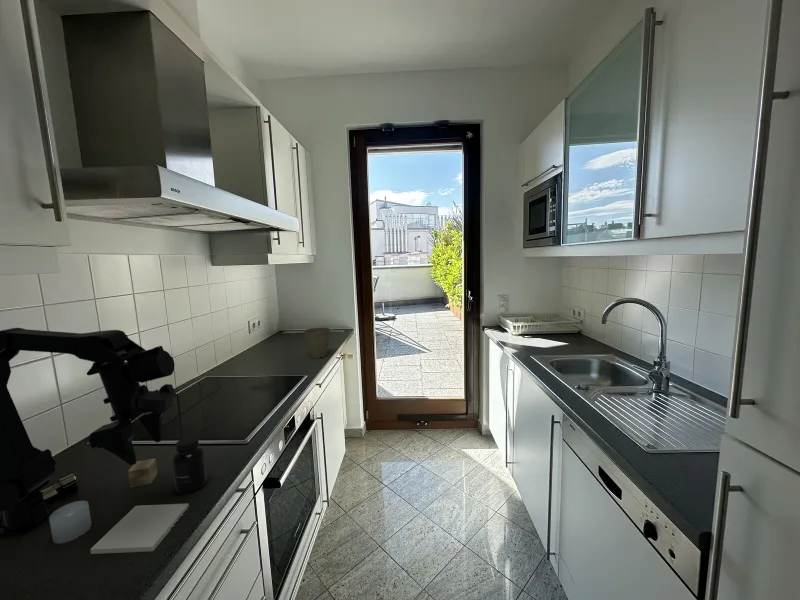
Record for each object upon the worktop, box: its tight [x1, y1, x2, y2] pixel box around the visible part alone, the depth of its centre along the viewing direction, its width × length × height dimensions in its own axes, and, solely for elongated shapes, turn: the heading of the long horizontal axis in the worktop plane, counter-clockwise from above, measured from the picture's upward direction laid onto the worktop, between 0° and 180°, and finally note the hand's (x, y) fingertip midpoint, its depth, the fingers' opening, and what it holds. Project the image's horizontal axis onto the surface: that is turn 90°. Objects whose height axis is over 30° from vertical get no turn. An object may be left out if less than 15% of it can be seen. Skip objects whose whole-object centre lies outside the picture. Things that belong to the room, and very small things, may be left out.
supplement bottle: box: [172, 436, 207, 495], centre depth 87 cm, size 7×7×12 cm
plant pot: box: [303, 327, 331, 359], centre depth 200 cm, size 15×15×16 cm
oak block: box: [127, 458, 158, 488], centre depth 90 cm, size 4×4×4 cm
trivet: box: [90, 503, 190, 555], centre depth 74 cm, size 12×12×1 cm
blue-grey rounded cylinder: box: [48, 500, 92, 545], centre depth 73 cm, size 6×6×5 cm
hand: (146, 452), depth 78 cm, fingers open, 9 cm apart
